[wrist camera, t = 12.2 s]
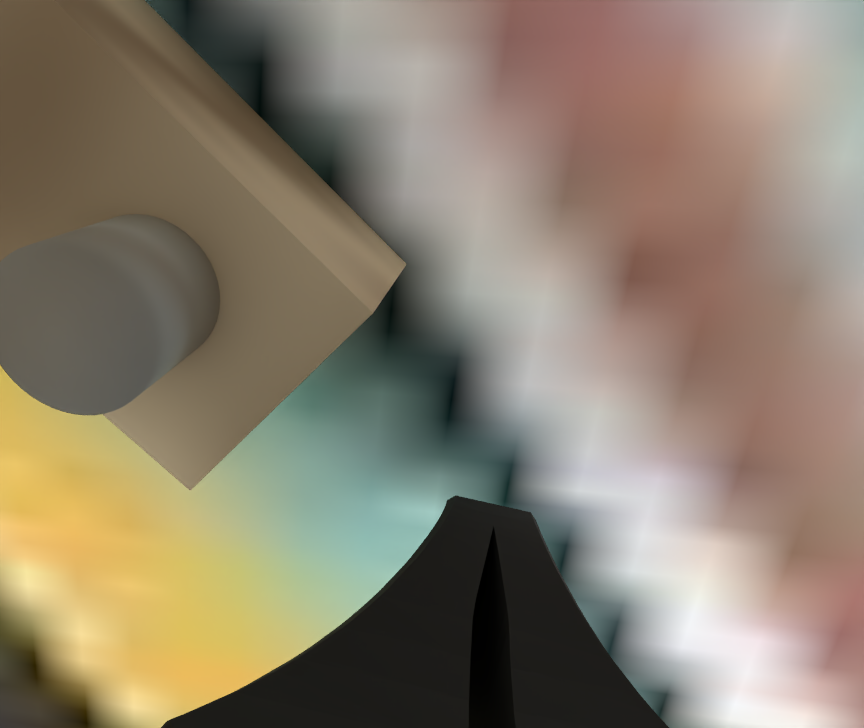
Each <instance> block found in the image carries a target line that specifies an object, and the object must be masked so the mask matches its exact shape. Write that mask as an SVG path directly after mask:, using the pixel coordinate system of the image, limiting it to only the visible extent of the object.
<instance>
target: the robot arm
mask: <svg viewBox="0 0 864 728" xmlns="http://www.w3.org/2000/svg"><path fill="white" fill-rule="evenodd" d="M161 728H669V727H668V726H667V725H666V724H665V723H664V722H663V721H662V720H661V719H660V717H659V716H658V715H657V714H656V713H655V712H654V711H653V710H652V708H651V707H650V706H649V705H648V704H647V703H646V701H645V700H644V699H643V698H642V697H641V696H640V694H639V693H638V692H637V691H636V689H635V688H634V687H633V685H632V684H631V683H630V682H629V680H628V679H627V678H626V676H625V675H624V674H623V673H622V671H621V670H620V669H619V667H618V666H617V665H616V664H615V662H614V661H613V660H612V658H611V657H610V655H609V654H608V653H607V651H606V650H605V648H604V647H603V645H602V644H601V642H600V641H599V639H598V637H597V636H596V634H595V633H594V631H593V630H592V628H591V627H590V625H589V623H588V622H587V620H586V619H585V617H584V615H583V613H582V612H581V610H580V608H579V607H578V605H577V603H576V601H575V600H574V598H573V596H572V594H571V592H570V591H569V589H568V587H567V585H566V583H565V581H564V580H563V578H562V576H561V574H560V572H559V570H558V568H557V566H556V564H555V562H554V560H553V558H552V556H551V554H550V552H549V550H548V547H547V545H546V543H545V541H544V539H543V536H542V534H541V532H540V529H539V527H538V525H537V522H536V520H535V518H534V517H533V515H532V514H531V512H526V511H522V510H518V509H513V508H509V507H504V506H500V505H495V504H491V503H486V502H482V501H477V500H473V499H468V498H464V497H459V496H454V497H452V498H450V499H449V500H447V503H446V506H445V508H444V510H443V512H442V514H441V516H440V518H439V520H438V521H437V523H436V524H435V526H434V527H433V529H432V530H431V532H430V533H429V535H428V536H427V538H426V539H425V540H424V541H423V543H422V544H421V545H420V546H419V548H418V549H417V550H416V551H415V553H414V554H413V555H412V556H411V558H410V559H409V560H408V561H407V562H406V564H405V565H404V566H403V567H402V568H401V569H400V570H399V571H398V572H397V573H396V574H395V575H394V576H393V577H392V578H391V580H390V581H389V582H388V583H387V584H386V585H385V586H384V587H383V588H382V589H381V590H380V591H379V592H378V593H377V594H376V595H375V596H374V597H373V598H372V599H370V600H369V601H368V602H367V603H366V604H365V605H364V606H363V607H362V608H360V609H359V610H358V611H357V612H356V613H355V614H353V615H352V616H351V617H350V618H349V619H347V620H346V621H345V622H344V623H342V624H341V625H340V626H339V627H337V628H336V629H334V630H333V631H332V632H330V633H329V634H328V635H326V636H325V637H324V638H322V639H321V640H320V641H318V642H317V643H315V644H314V645H313V646H311V647H310V648H308V649H307V650H305V651H304V652H302V653H301V654H299V655H298V656H296V657H295V658H293V659H291V660H290V661H288V662H286V663H284V664H283V665H281V666H279V667H278V668H276V669H274V670H272V671H271V672H269V673H267V674H265V675H264V676H262V677H260V678H259V679H257V680H255V681H253V682H252V683H250V684H248V685H246V686H244V687H242V688H241V689H239V690H237V691H235V692H233V693H231V694H228V695H226V696H224V697H222V698H220V699H217V700H215V701H213V702H211V703H208V704H206V705H204V706H202V707H199V708H197V709H195V710H193V711H190V712H188V713H186V714H183V715H181V716H178V717H176V718H173V719H171V720H169V721H167V722H166V723H165V724H164V725H163V726H162V727H161Z"/></svg>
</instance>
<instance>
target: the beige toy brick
mask: <svg viewBox="0 0 864 728" xmlns="http://www.w3.org/2000/svg"><path fill="white" fill-rule="evenodd" d="M405 266H406V263H405V262H404V261H403V260H402V259H401V258H400V257H399V256H398V255H397V254H396V253H395V252H394V251H393V250H392V249H391V248H390V247H389V246H388V245H387V244H386V243H385V242H384V241H383V240H382V239H381V238H380V237H379V236H378V235H377V234H376V233H375V232H374V231H373V230H372V229H371V228H370V227H369V226H368V225H367V224H366V223H365V222H364V221H363V220H362V219H361V218H360V217H359V216H358V215H357V214H356V213H355V212H354V211H353V210H352V209H351V208H350V207H349V206H348V205H347V204H346V203H345V202H344V201H343V200H342V199H341V198H340V197H339V196H338V195H337V194H336V192H335V191H334V190H333V189H332V188H331V187H330V186H329V185H328V184H327V183H326V182H325V181H324V180H323V179H322V178H321V177H320V176H319V175H318V174H317V173H316V172H315V171H314V170H313V169H312V168H311V167H310V166H309V165H308V164H307V163H306V162H305V161H304V160H303V159H302V158H301V157H300V156H299V155H298V154H297V153H296V152H295V151H294V150H293V149H292V148H291V147H290V146H289V145H288V144H287V143H286V142H285V141H284V140H283V139H282V138H281V137H280V136H279V135H278V134H277V133H276V132H275V131H274V130H273V129H272V128H271V127H270V126H269V125H268V124H267V123H266V122H265V121H264V120H263V119H262V118H261V117H260V116H259V115H258V114H257V113H256V112H255V111H254V110H253V109H252V108H251V107H250V106H249V105H248V104H247V103H246V102H245V101H244V100H243V99H242V98H241V97H240V96H239V95H238V94H237V93H236V92H235V91H234V90H233V89H232V88H231V87H230V86H229V85H228V84H227V83H226V82H225V81H224V80H223V79H222V78H221V77H220V76H219V75H218V74H217V73H216V72H215V71H214V70H213V69H212V68H211V67H210V66H209V65H208V64H207V63H206V62H205V61H204V60H203V59H202V58H201V57H200V56H199V55H198V54H197V53H196V52H195V51H194V50H193V49H192V48H191V47H190V46H189V45H188V44H187V42H186V41H185V40H184V39H183V38H182V37H181V36H180V35H179V34H178V33H177V32H176V31H175V30H174V29H173V28H172V27H171V26H170V25H169V24H168V23H167V22H166V21H165V20H164V19H163V18H162V17H161V16H160V15H159V14H158V13H157V12H156V11H155V10H154V9H153V8H152V7H151V6H150V5H149V4H148V3H147V2H146V1H145V0H0V365H1V366H2V368H3V369H4V371H5V372H6V373H7V374H8V375H9V376H10V378H11V379H12V380H13V381H14V382H15V383H16V384H17V385H18V386H19V387H20V388H21V389H23V390H24V391H25V392H26V393H28V394H29V395H30V396H32V397H33V398H35V399H37V400H38V401H40V402H41V403H43V404H46V405H48V406H50V407H52V408H54V409H57V410H60V411H63V412H67V413H71V414H78V415H98V414H103V415H104V416H105V417H106V418H107V419H108V420H110V421H111V422H112V423H113V424H114V425H115V426H116V427H118V428H119V429H120V430H121V431H122V432H123V433H125V434H126V435H127V436H128V437H129V438H130V439H131V440H133V441H134V442H135V443H136V444H137V445H138V446H139V447H141V448H142V449H143V450H144V451H145V452H146V453H147V454H149V455H150V456H151V457H152V458H153V459H154V460H156V461H157V462H158V463H159V464H160V465H161V466H162V467H164V468H165V469H166V470H167V471H168V472H169V473H170V474H172V475H173V476H174V477H175V478H176V479H177V480H178V481H180V482H181V483H182V484H183V485H184V486H185V487H187V488H188V489H189V490H191V489H192V488H194V487H195V486H196V485H197V484H198V483H199V482H200V481H201V480H202V479H203V478H204V477H205V476H206V475H207V474H208V473H209V472H210V471H211V470H212V469H213V468H214V467H215V466H216V465H217V464H218V463H219V462H220V461H221V460H222V459H223V458H224V457H225V456H226V455H227V454H229V453H230V452H231V451H232V450H233V449H234V448H235V447H236V446H237V445H238V444H239V443H240V442H241V441H242V440H243V439H244V438H245V437H246V436H247V435H248V434H249V433H250V432H251V431H252V430H253V429H254V428H255V427H256V426H257V425H258V424H259V423H260V422H261V421H262V420H264V419H265V418H266V417H267V416H268V415H269V414H270V413H271V412H272V411H273V410H274V409H275V408H276V407H277V406H278V405H279V404H280V403H281V402H282V401H283V400H284V399H285V398H286V397H287V396H288V395H289V394H290V393H291V392H292V391H293V390H294V389H295V388H296V387H298V386H299V385H300V384H301V383H302V382H303V381H304V380H305V379H306V378H307V377H308V376H309V375H310V374H311V373H312V372H313V371H314V370H315V369H316V368H317V367H318V366H319V365H320V364H321V363H322V362H323V361H324V360H325V359H326V358H327V357H328V356H329V355H330V354H331V353H333V352H334V351H335V350H336V349H337V348H338V347H339V346H340V345H341V344H342V343H343V342H344V341H345V340H346V339H347V338H348V337H349V336H350V335H351V334H352V333H353V332H354V331H355V330H356V329H357V328H358V327H359V326H360V325H361V324H362V323H363V322H364V321H365V320H366V319H368V318H369V317H370V316H371V315H372V314H373V313H374V311H375V310H376V308H377V307H378V305H379V304H380V302H381V301H382V299H383V298H384V296H385V295H386V294H387V292H388V291H389V289H390V288H391V286H392V285H393V283H394V282H395V280H396V279H397V278H398V276H399V275H400V273H401V272H402V270H403V269H404V267H405Z"/></svg>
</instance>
